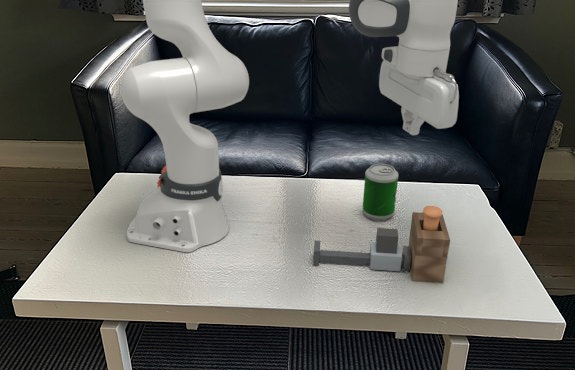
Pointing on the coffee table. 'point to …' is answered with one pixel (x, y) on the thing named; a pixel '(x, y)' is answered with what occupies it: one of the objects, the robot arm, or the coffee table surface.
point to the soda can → (380, 192)
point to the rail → (353, 257)
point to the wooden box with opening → (428, 250)
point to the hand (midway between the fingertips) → (410, 132)
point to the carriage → (386, 250)
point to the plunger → (431, 218)
